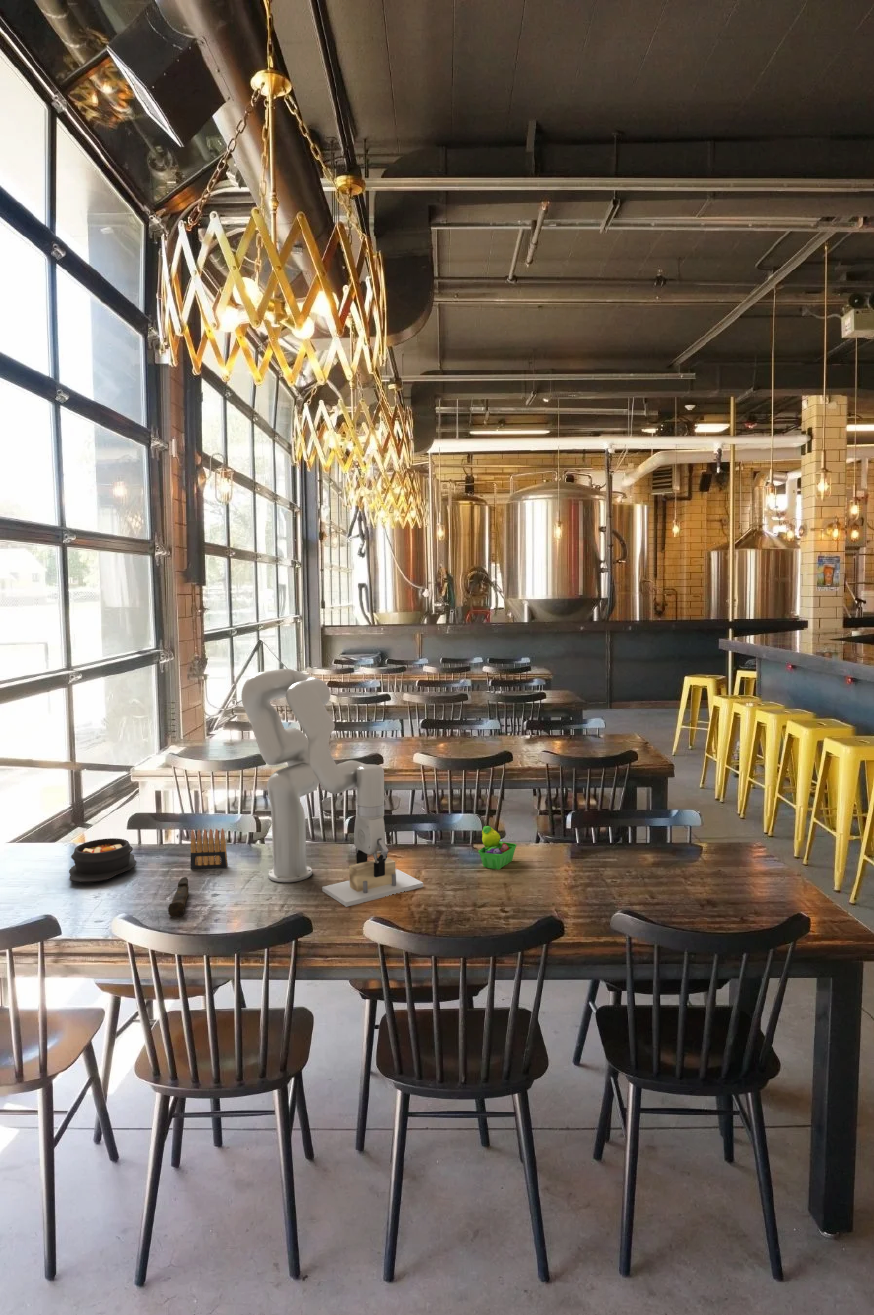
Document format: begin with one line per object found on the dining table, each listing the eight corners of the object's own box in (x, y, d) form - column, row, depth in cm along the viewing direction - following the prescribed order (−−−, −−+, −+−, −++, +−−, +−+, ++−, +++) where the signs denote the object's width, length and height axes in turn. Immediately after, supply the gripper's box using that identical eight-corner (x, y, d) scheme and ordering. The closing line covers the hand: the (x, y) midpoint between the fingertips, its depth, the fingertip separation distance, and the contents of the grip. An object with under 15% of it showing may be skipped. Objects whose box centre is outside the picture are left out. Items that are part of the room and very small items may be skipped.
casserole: (119, 887, 229) (118, 858, 229) (53, 889, 229) (51, 860, 228) (148, 858, 254) (147, 832, 254) (88, 860, 254) (87, 833, 253)
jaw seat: (322, 891, 223) (321, 876, 223) (397, 872, 237) (396, 858, 236) (346, 906, 212) (345, 891, 211) (423, 886, 225) (422, 872, 225)
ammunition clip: (227, 866, 245) (226, 827, 245) (226, 868, 244) (225, 829, 243) (191, 867, 245) (190, 828, 244) (190, 869, 243) (188, 830, 242)
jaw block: (349, 886, 223) (349, 865, 222) (387, 877, 229) (387, 857, 229) (357, 891, 219) (356, 870, 219) (395, 882, 226) (395, 861, 225)
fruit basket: (500, 872, 236) (499, 834, 235) (473, 867, 241) (473, 829, 240) (517, 860, 246) (517, 824, 245) (492, 856, 250) (491, 820, 249)
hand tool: (184, 917, 208) (183, 899, 207) (168, 918, 207) (167, 900, 207) (196, 890, 226) (195, 874, 226) (181, 891, 226) (180, 875, 226)
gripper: (343, 805, 228) (343, 864, 229) (374, 820, 213) (374, 883, 215) (366, 801, 232) (367, 859, 233) (398, 815, 218) (398, 877, 219)
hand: (370, 870), depth 224 cm, fingers open, 9 cm apart
